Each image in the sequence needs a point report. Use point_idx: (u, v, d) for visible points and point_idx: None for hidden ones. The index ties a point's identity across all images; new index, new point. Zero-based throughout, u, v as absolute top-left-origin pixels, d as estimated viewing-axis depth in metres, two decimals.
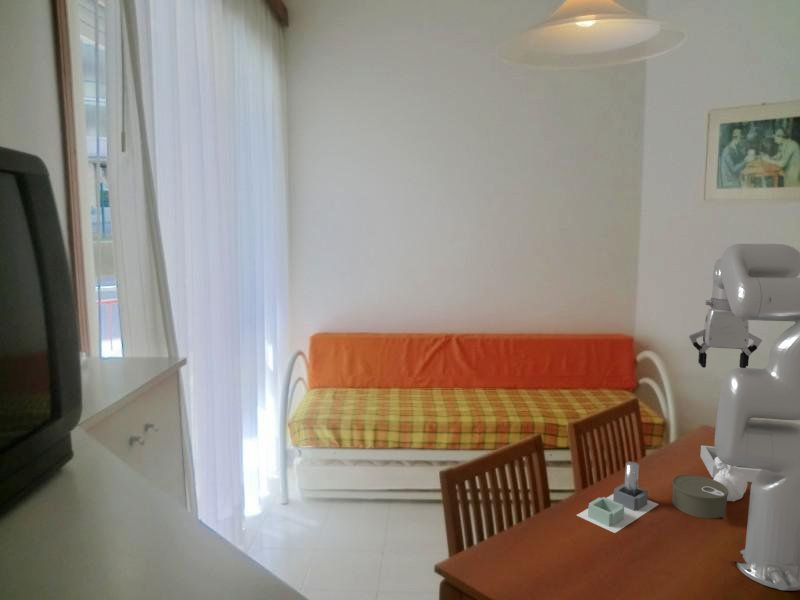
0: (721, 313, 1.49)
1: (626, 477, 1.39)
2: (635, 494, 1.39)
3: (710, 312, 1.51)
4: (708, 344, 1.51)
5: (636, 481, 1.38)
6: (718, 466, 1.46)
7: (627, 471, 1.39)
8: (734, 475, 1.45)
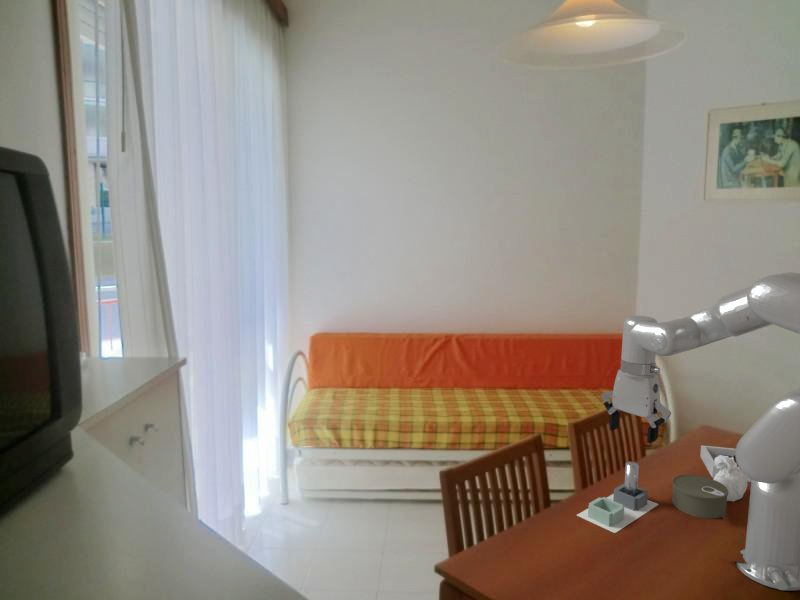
0: None
1: (626, 477, 1.39)
2: (635, 494, 1.39)
3: (657, 378, 1.34)
4: None
5: (636, 481, 1.38)
6: (718, 466, 1.46)
7: (627, 471, 1.39)
8: (734, 475, 1.45)
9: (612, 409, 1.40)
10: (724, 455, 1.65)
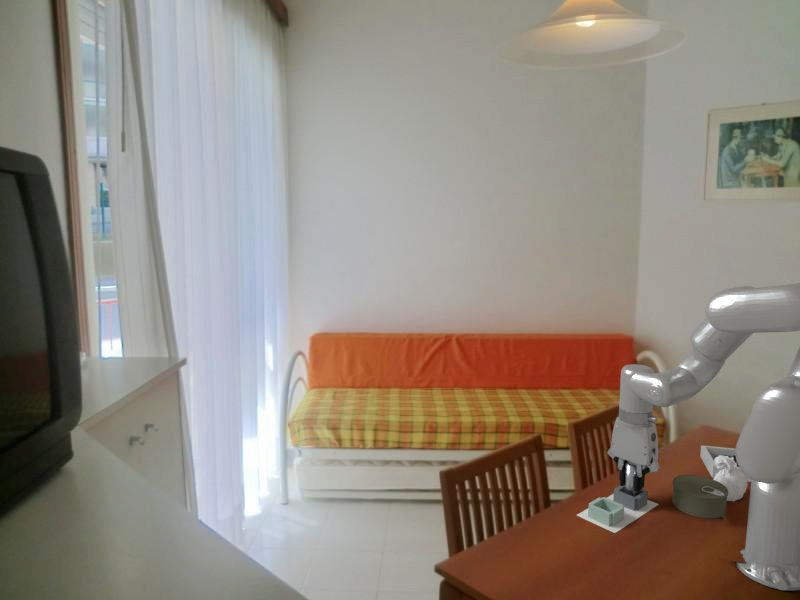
0: None
1: (626, 477, 1.39)
2: (635, 494, 1.39)
3: (655, 426, 1.35)
4: None
5: None
6: (718, 466, 1.46)
7: (627, 471, 1.39)
8: (734, 475, 1.45)
9: (620, 463, 1.40)
10: (724, 455, 1.65)
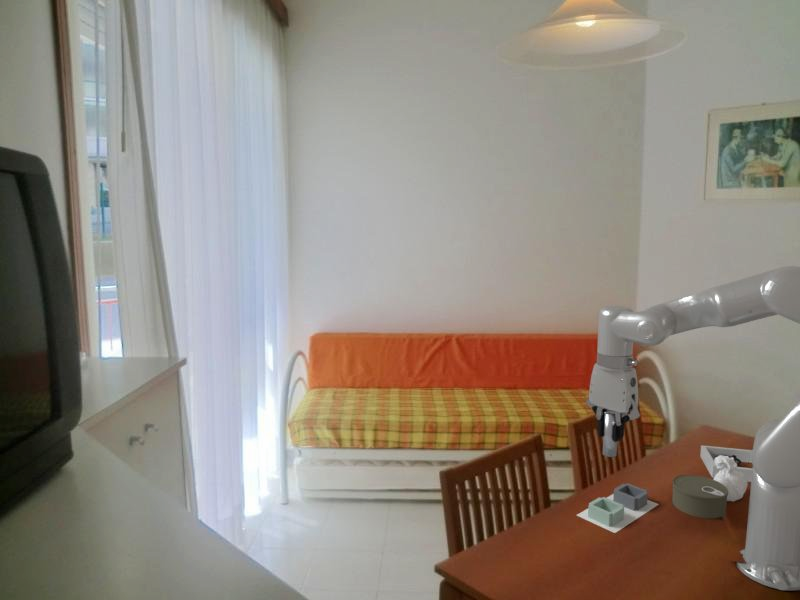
0: None
1: (605, 427, 1.30)
2: (614, 445, 1.30)
3: (635, 371, 1.26)
4: None
5: None
6: (718, 466, 1.46)
7: (606, 420, 1.30)
8: (734, 475, 1.45)
9: (598, 412, 1.31)
10: None
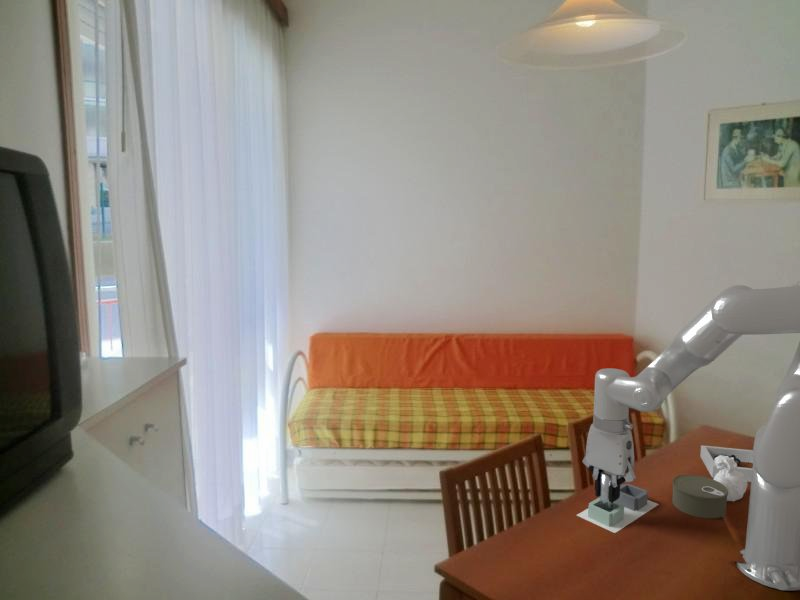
0: None
1: (601, 487, 1.32)
2: (611, 505, 1.32)
3: (631, 434, 1.28)
4: None
5: None
6: (718, 466, 1.46)
7: (602, 481, 1.32)
8: (734, 475, 1.45)
9: (595, 472, 1.33)
10: None
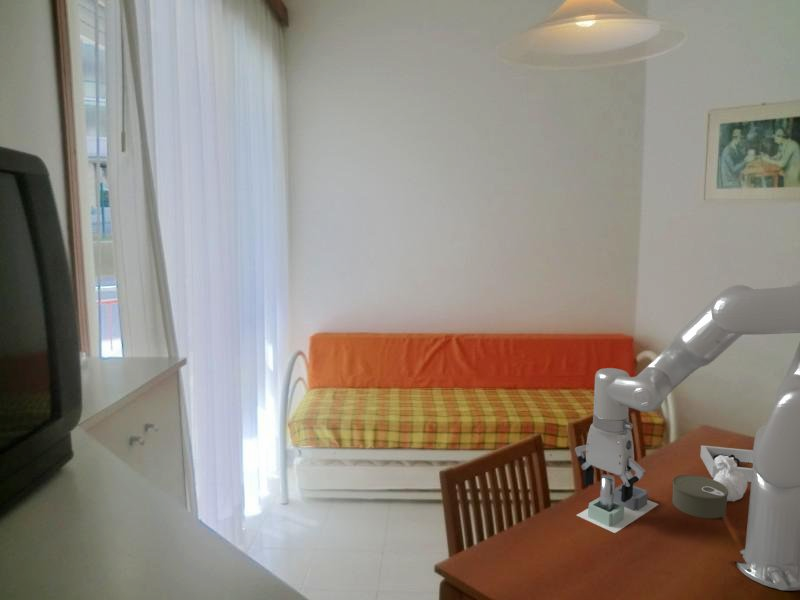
0: None
1: (601, 491, 1.32)
2: (611, 509, 1.32)
3: None
4: None
5: (611, 496, 1.31)
6: (718, 466, 1.46)
7: (602, 485, 1.32)
8: (734, 475, 1.45)
9: (586, 464, 1.35)
10: None
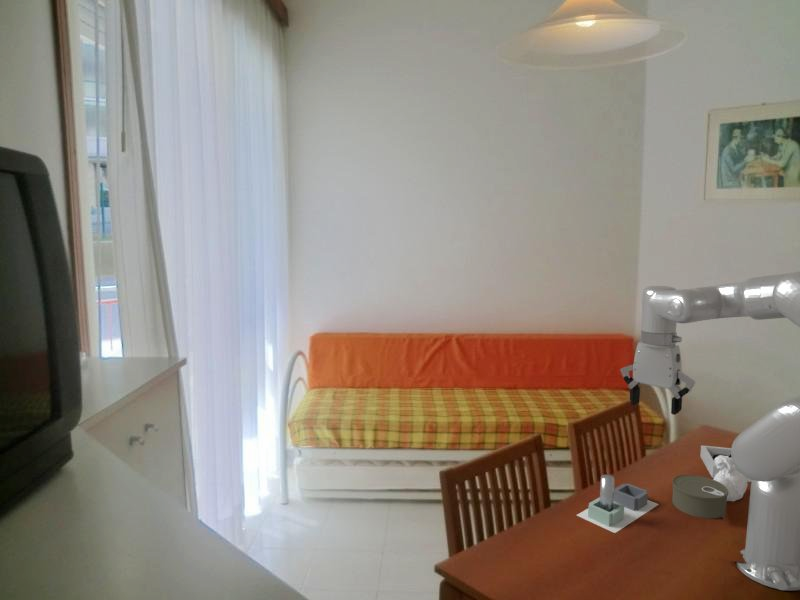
0: None
1: (601, 491, 1.32)
2: (611, 509, 1.32)
3: (679, 348, 1.32)
4: None
5: (611, 496, 1.31)
6: (718, 466, 1.46)
7: (602, 485, 1.32)
8: (734, 475, 1.45)
9: (633, 383, 1.38)
10: (720, 454, 1.65)
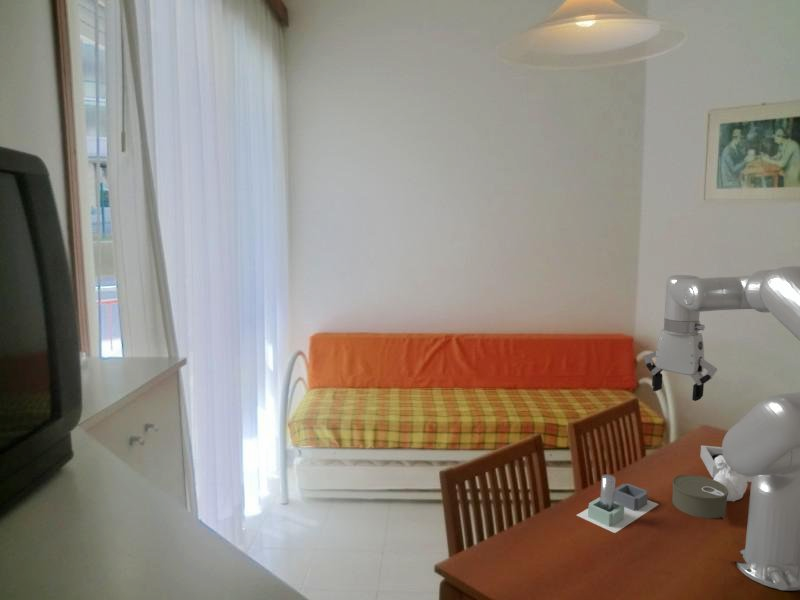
0: None
1: (602, 491, 1.32)
2: (611, 509, 1.32)
3: None
4: None
5: (612, 495, 1.31)
6: (718, 466, 1.46)
7: (603, 485, 1.32)
8: (734, 475, 1.45)
9: (655, 369, 1.41)
10: (719, 454, 1.65)
